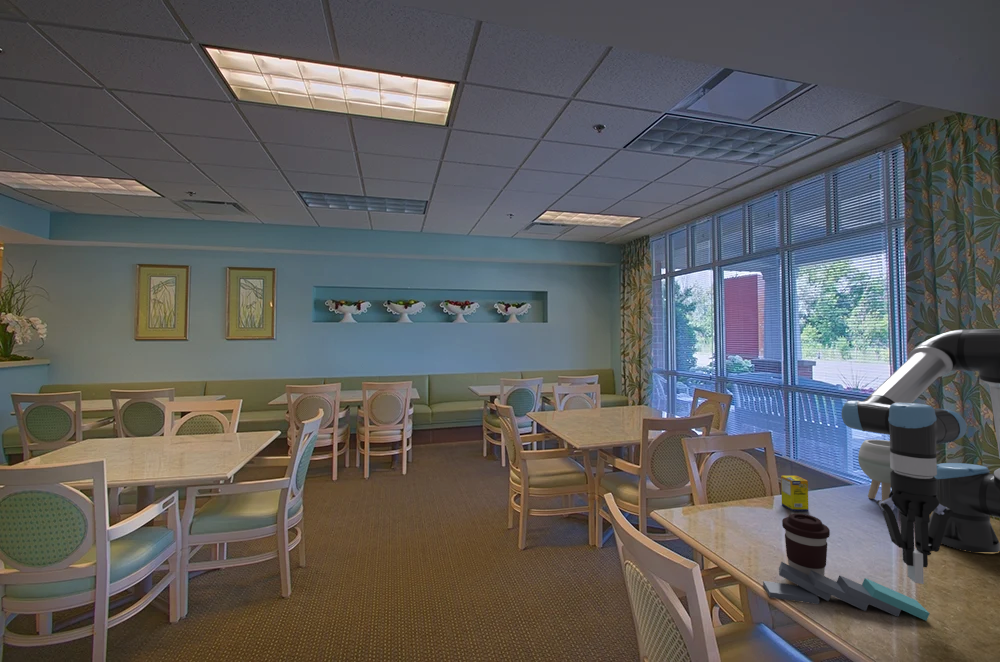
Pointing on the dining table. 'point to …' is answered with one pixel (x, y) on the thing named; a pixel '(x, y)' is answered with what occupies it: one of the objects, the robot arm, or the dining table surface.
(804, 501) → the supplement box
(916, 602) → the domino
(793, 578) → the domino
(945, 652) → the dining table surface
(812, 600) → the domino
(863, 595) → the domino
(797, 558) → the coffee cup
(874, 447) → the planter
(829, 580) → the domino
